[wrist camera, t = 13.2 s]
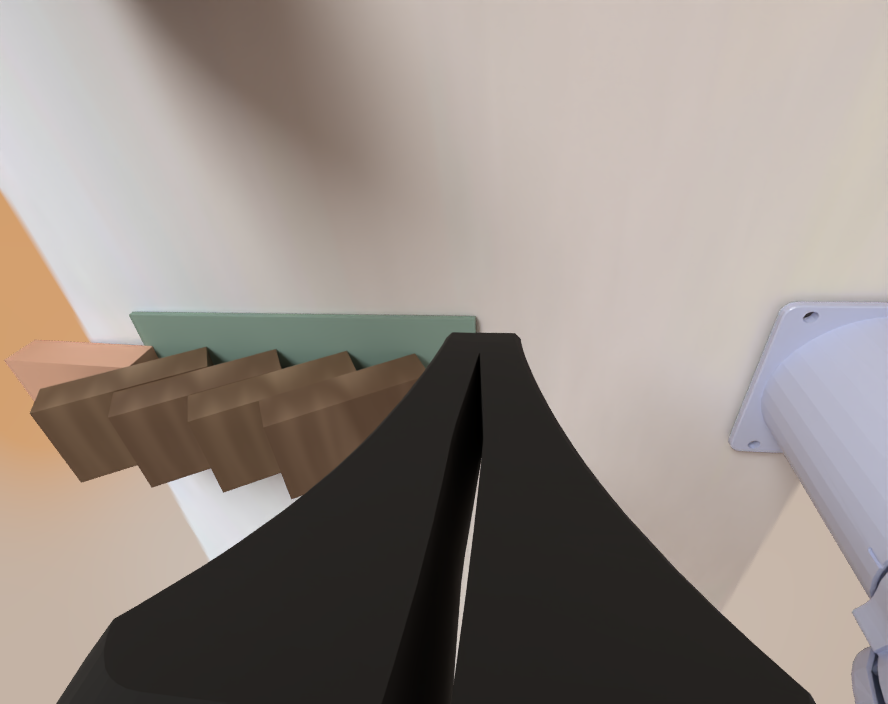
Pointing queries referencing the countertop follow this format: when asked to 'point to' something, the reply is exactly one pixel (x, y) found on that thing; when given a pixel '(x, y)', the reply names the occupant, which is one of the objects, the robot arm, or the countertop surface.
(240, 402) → the domino
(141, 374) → the domino
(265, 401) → the domino
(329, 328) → the mat
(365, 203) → the countertop surface
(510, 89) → the countertop surface
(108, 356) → the domino end
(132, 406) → the domino
